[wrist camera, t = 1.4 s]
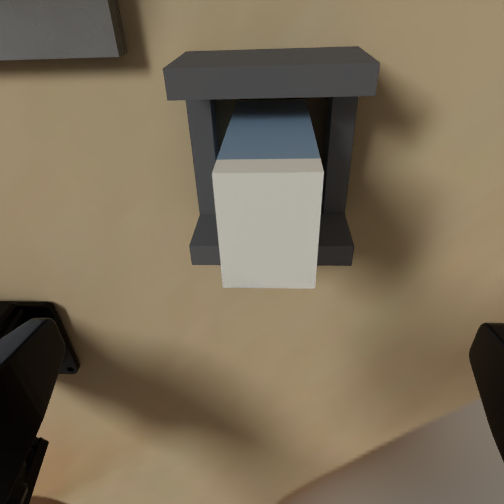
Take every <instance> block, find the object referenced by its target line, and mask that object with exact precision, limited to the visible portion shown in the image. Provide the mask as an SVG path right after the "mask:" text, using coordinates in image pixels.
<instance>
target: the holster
mask: <svg viewBox="0 0 504 504" xmlns="http://www.w3.org/2000/svg"><path fill="white" fill-rule="evenodd" d="M379 66H380V62H378V61H377V60H376V59H374V58H373V57H372V56H370V55H369V54H368V53H366V52H365V51H363V50H362V49H361V48H359V47H358V46H357V47H324V48H290V49H256V50H223V51H189V52H185V53H184V54H182V55H181V56H179V57H178V58H177V59H175V60H174V61H173V62H171V63H170V64H168V65H167V66H166V67H164V68H163V73H164V80H165V87H166V93H167V100H186V106H187V114H188V122H189V130H190V138H191V146H192V154H193V162H194V170H195V178H196V187H197V195H198V203H199V211H200V216H199V219H198V222H197V225H196V228H195V231H194V234H193V237H192V240H191V243H190V246H189V247H190V254H191V261H192V265H221V262H220V252H219V242H218V232H217V221H216V211H215V201H214V191H213V180H212V171H213V169H214V166H215V163H216V160H217V157H218V154H219V149H218V137H217V125H216V114H215V102H214V99H257V98H303V97H329V106H328V119H327V132H326V145H325V158H324V178H323V191H322V204H321V217H320V230H319V243H318V256H317V265H332V266H352V258H353V251H354V244H353V241H352V237H351V234H350V231H349V227H348V224H347V221H346V217H345V206H346V197H347V189H348V180H349V172H350V163H351V154H352V146H353V137H354V129H355V120H356V112H357V103H358V96H375V94H376V87H377V80H378V73H379Z"/></svg>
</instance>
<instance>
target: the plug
mask: <svg viewBox="0 0 504 504" xmlns="http://www.w3.org/2000/svg"><path fill="white" fill-rule="evenodd" d="M323 178H324V171H323V167H322V163H321V159H320V155H319V151H318V147H317V143H316V139H315V135H314V131H313V127H312V123H311V119H310V115H309V111H308V107H307V103H306V99H302V100H254V101H237V103H236V106H235V108H234V111H233V114H232V117H231V120H230V123H229V126H228V128H227V131H226V134H225V137H224V140H223V143H222V146H221V148H220V151H219V154H218V157H217V160H216V163H215V166H214V169H213V171H212V180H213V191H214V201H215V211H216V221H217V232H218V242H219V252H220V262H221V273H222V283H223V288H315V282H316V269H317V256H318V243H319V230H320V217H321V204H322V191H323Z"/></svg>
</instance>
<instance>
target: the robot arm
mask: <svg viewBox="0 0 504 504" xmlns="http://www.w3.org/2000/svg"><path fill="white" fill-rule="evenodd" d="M469 359H470V363H471V367H472V370H473V373H474V377H475V380H476V383H477V387H478V390H479V393H480V397H481V400H482V403H483V406H484V410H485V413H486V417H487V420H488V423H489V426H490V429H491V432H492V435H493V437H494V440H495V442H496V445H497V447H498V450H499V452H500V454H501V457H502V459H503V461H504V323H483V324H482V325H480V327H479V329H478V331H477V333H476V336H475V338H474V341H473V343H472V346H471V348H470V352H469ZM79 368H80V364H79V362H78V360H77V358H76V355H75V353H74V351H73V348H72V346H71V344H70V341H69V339H68V337H67V334H66V332H65V330H64V327H63V325H62V323H61V321H60V318H59V316H58V314H57V311H56V309H55V307H54V306H53V305H52V304H51V303H48V302H14V301H0V504H29V502H30V499H31V496H32V493H33V490H34V487H35V484H36V481H37V477H38V474H39V471H40V468H41V465H42V462H43V459H44V456H45V453H46V449H47V446H48V443H49V441H47V440H45V439H43V438H41V437H40V438H37V437H36V435H37V433H38V430H39V428H40V426H41V423H42V421H43V418H44V415H45V413H46V410H47V407H48V404H49V401H50V398H51V395H52V392H53V389H54V386H55V383H56V380H57V376H58V374H75V373H77V372H78V370H79Z"/></svg>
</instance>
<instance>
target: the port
mask: <svg viewBox="0 0 504 504" xmlns="http://www.w3.org/2000/svg"><path fill="white" fill-rule="evenodd" d="M125 54H127V50H126V45H125V40H124V35H123V29H122V24H121V19H120V14H119V9H118V3H117V0H0V60H32V59H67V58H101V57H120V56H122V55H125Z"/></svg>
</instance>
